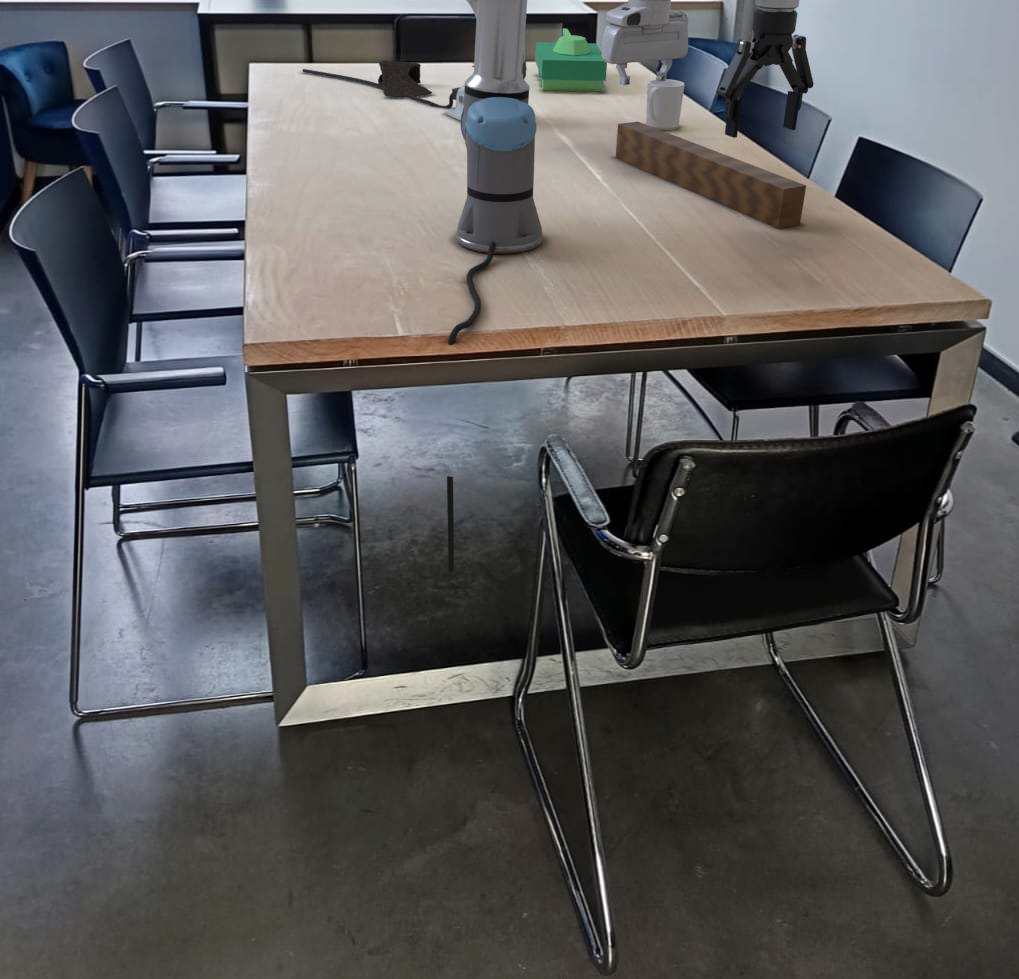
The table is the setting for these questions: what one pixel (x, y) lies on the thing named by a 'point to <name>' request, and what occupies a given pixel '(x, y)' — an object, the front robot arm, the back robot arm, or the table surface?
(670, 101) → the mug
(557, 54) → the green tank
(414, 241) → the table surface
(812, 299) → the table surface
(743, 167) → the post
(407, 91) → the axe head
